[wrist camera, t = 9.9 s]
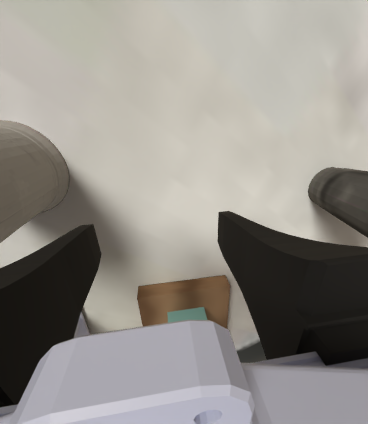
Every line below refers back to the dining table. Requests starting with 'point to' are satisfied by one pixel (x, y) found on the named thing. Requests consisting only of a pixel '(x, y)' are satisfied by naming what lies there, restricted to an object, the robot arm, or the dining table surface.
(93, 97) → the dining table surface
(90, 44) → the dining table surface
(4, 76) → the dining table surface
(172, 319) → the teal block
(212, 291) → the walnut base
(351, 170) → the beverage cup
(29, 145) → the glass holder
